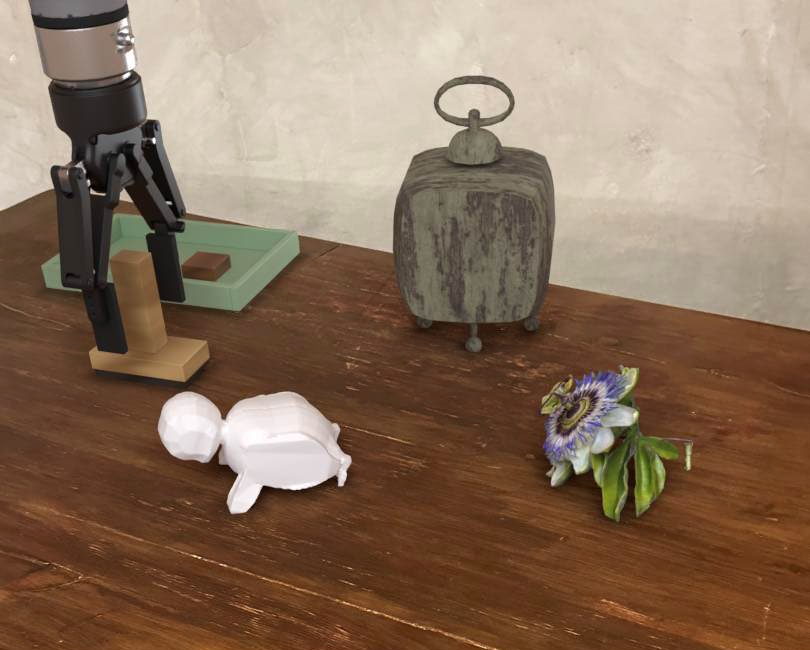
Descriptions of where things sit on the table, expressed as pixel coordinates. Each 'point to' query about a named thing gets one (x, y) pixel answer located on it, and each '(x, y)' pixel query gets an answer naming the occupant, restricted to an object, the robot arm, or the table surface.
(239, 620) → the table surface
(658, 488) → the passion flower
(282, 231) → the tray
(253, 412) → the white turtle figurine
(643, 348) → the table surface
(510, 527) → the table surface
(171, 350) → the brush
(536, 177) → the tabletop clock
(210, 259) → the wood chip
